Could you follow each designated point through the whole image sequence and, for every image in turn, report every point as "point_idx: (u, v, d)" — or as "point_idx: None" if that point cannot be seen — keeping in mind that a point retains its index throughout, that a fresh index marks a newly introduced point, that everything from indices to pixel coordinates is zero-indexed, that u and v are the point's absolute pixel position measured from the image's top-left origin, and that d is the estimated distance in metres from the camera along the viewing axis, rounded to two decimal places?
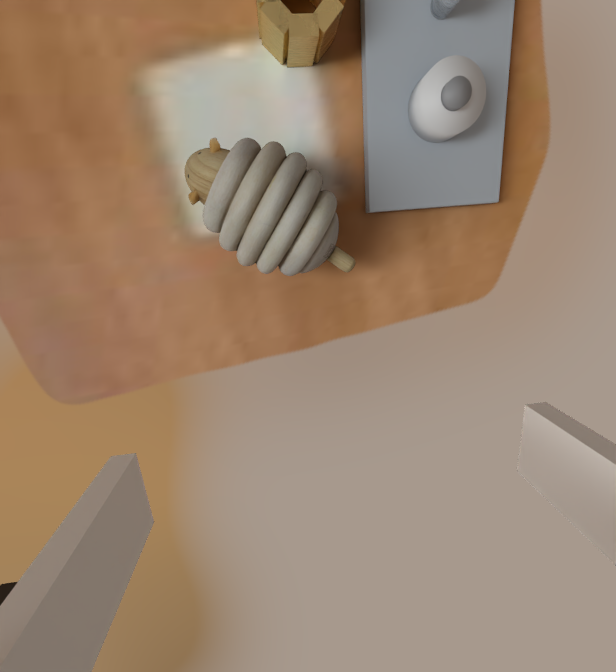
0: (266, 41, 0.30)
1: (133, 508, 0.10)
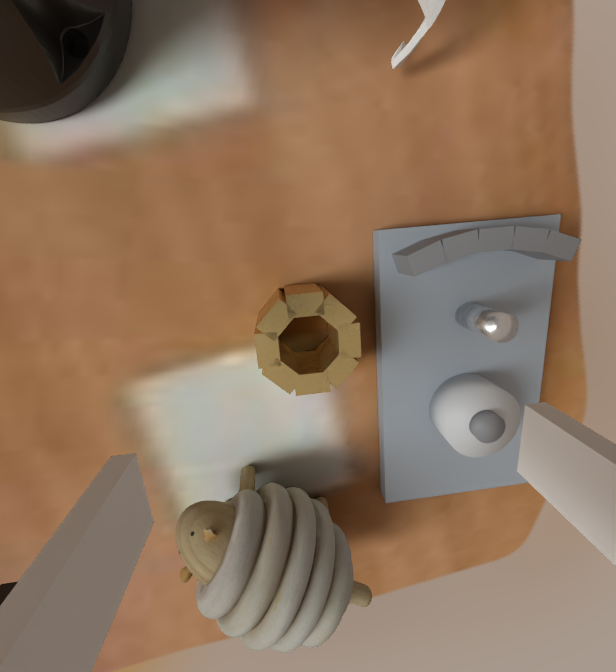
0: None
1: (133, 508, 0.10)
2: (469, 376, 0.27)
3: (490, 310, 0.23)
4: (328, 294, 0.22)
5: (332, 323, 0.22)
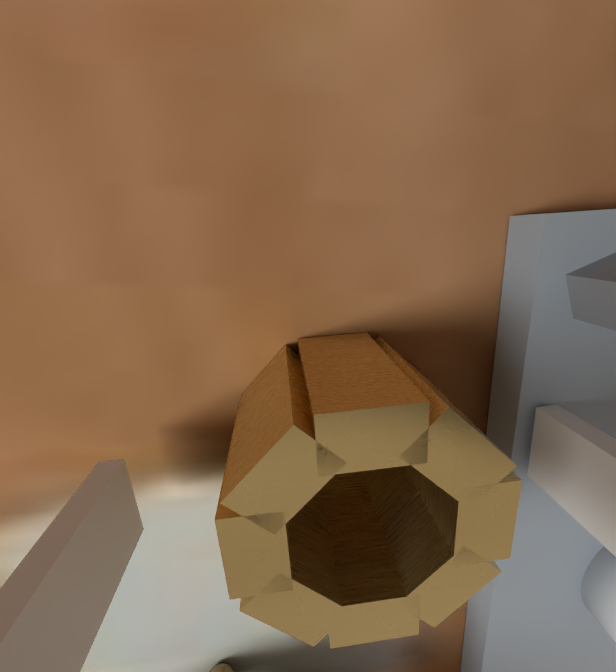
0: None
1: (121, 515, 0.10)
2: None
3: None
4: (441, 405, 0.07)
5: (446, 485, 0.08)
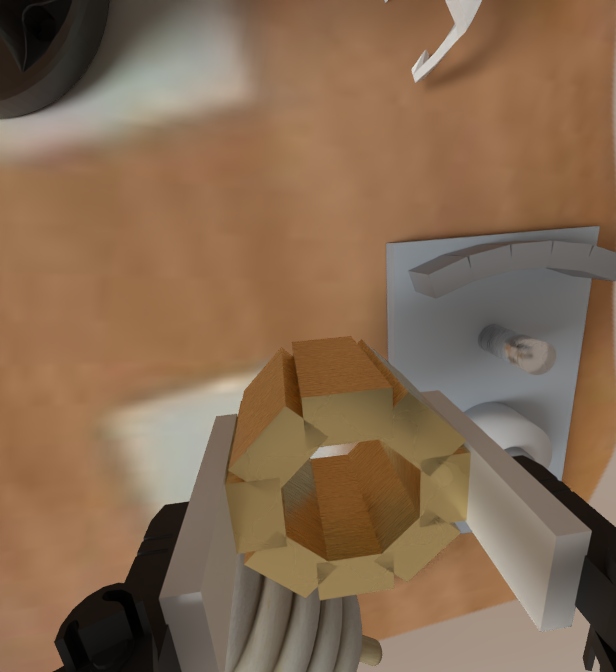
0: None
1: None
2: (493, 406, 0.24)
3: (522, 336, 0.20)
4: (403, 391, 0.09)
5: (409, 456, 0.09)
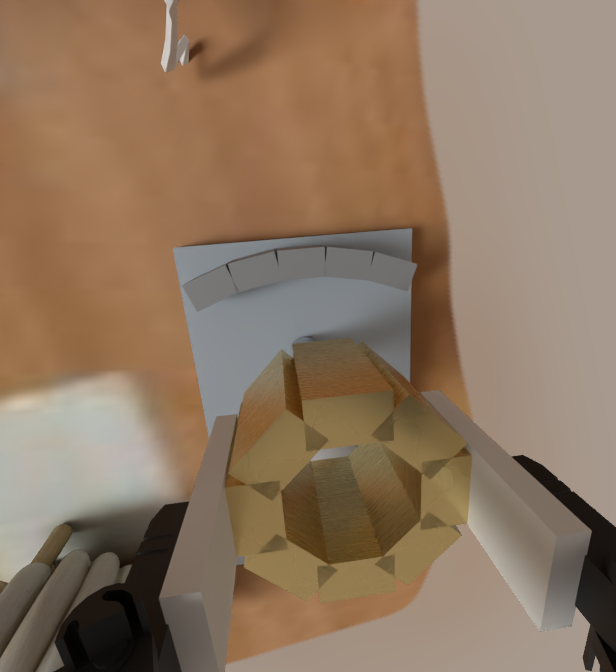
0: None
1: None
2: None
3: None
4: (404, 393, 0.09)
5: (410, 458, 0.09)
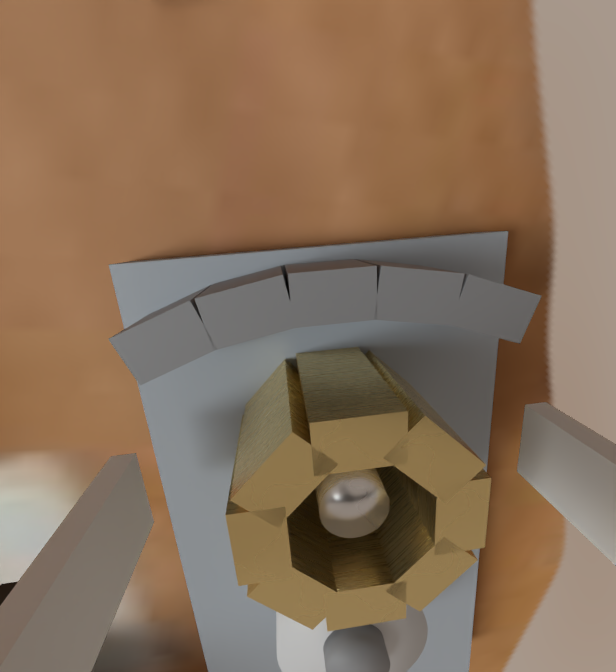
0: None
1: (133, 508, 0.10)
2: None
3: None
4: (419, 413, 0.08)
5: (425, 482, 0.09)
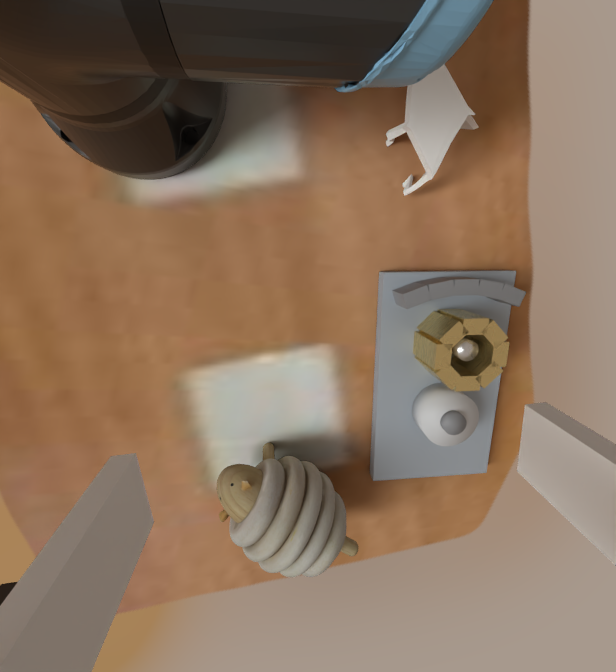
0: (422, 364, 0.35)
1: (133, 508, 0.10)
2: (443, 385, 0.36)
3: None
4: (491, 320, 0.30)
5: (491, 341, 0.31)
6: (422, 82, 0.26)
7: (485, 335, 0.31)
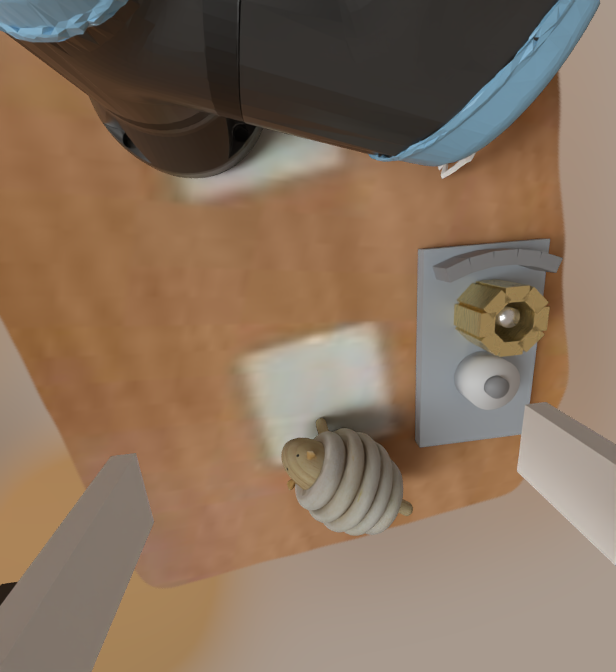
0: (464, 334, 0.37)
1: (133, 508, 0.10)
2: (483, 353, 0.38)
3: None
4: (531, 287, 0.32)
5: (532, 307, 0.33)
6: None
7: (526, 302, 0.32)
